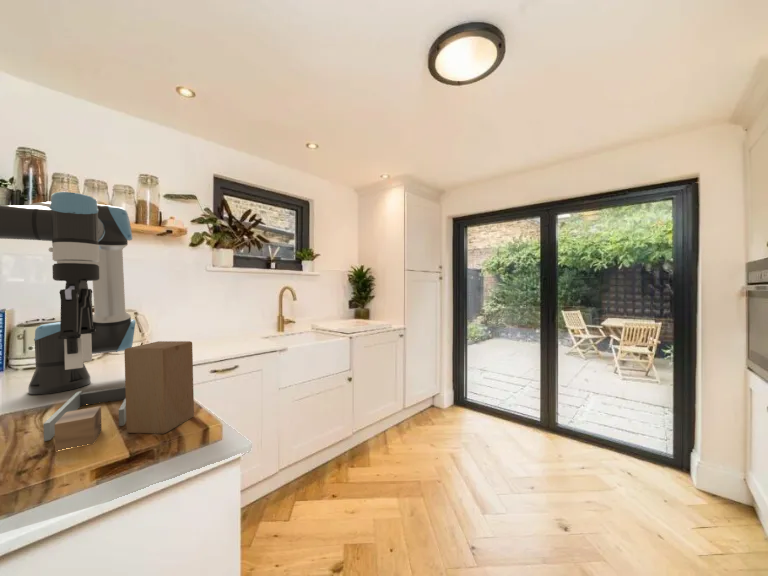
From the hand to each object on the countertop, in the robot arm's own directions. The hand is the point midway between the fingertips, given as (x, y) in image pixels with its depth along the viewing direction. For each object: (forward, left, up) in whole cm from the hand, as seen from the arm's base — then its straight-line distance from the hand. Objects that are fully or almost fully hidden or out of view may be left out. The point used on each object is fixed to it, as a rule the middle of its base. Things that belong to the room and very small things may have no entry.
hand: (79, 364), depth 70 cm
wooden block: (+1, +15, -17) cm, 23 cm away
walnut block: (0, 0, -17) cm, 17 cm away
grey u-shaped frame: (-17, 0, -17) cm, 24 cm away
